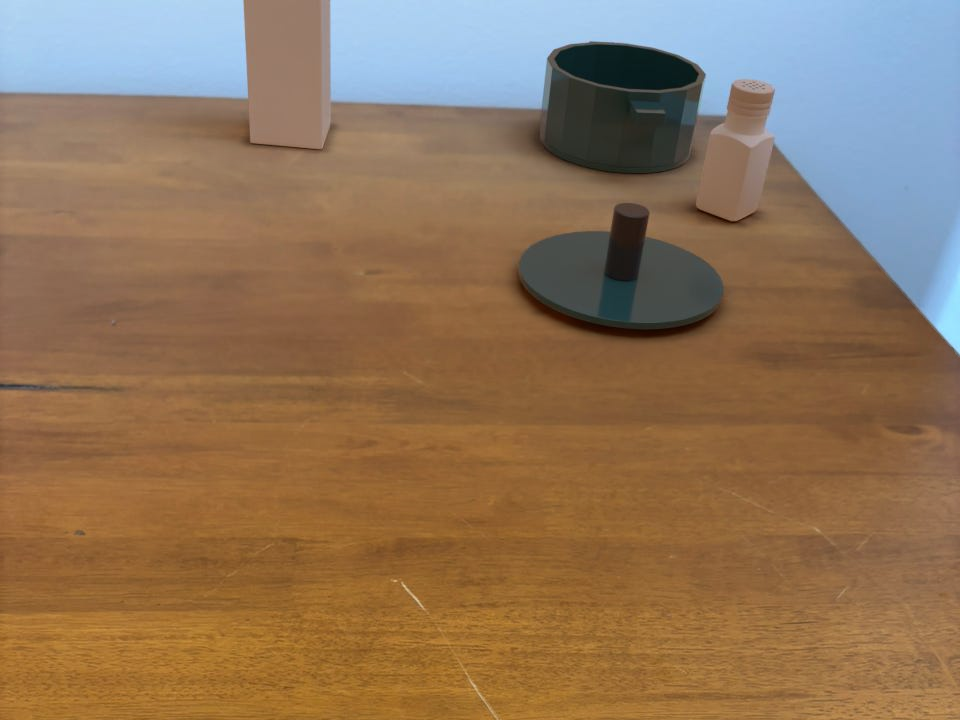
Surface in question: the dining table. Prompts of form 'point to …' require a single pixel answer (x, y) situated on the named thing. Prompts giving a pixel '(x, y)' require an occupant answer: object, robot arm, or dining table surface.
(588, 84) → the pot
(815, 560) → the dining table surface
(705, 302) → the lid
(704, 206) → the pepper shaker
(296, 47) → the milk
